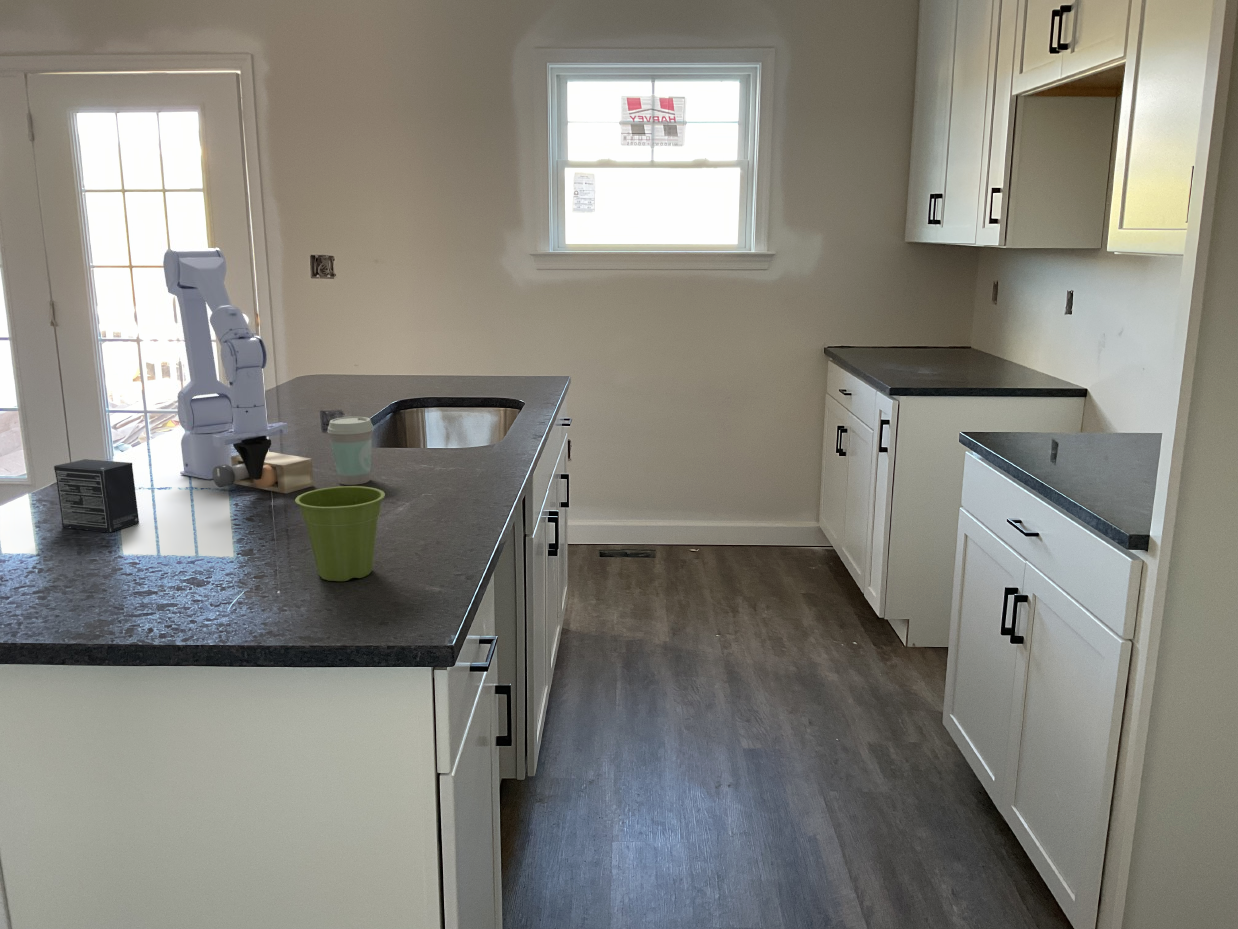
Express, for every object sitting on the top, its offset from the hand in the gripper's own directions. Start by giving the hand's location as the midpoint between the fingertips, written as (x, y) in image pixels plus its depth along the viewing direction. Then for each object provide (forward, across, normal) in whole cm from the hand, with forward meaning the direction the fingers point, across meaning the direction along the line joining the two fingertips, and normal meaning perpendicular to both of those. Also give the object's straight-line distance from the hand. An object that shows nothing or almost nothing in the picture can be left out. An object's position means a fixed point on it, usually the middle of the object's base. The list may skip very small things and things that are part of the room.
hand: (255, 478), depth 177 cm
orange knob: (+2, +4, 0) cm, 5 cm away
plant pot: (+3, -22, -47) cm, 52 cm away
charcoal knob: (+2, +1, +7) cm, 7 cm away
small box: (+3, -26, +6) cm, 27 cm away
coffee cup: (+3, +16, -8) cm, 18 cm away
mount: (+3, +6, +4) cm, 8 cm away
